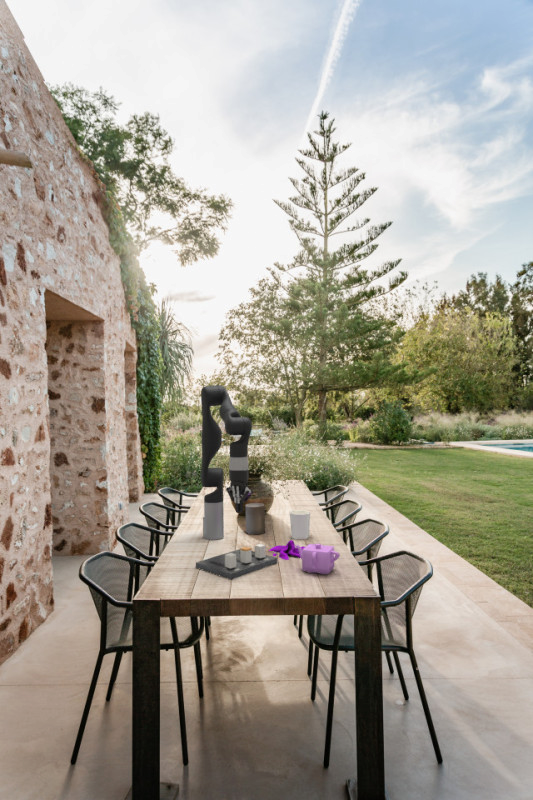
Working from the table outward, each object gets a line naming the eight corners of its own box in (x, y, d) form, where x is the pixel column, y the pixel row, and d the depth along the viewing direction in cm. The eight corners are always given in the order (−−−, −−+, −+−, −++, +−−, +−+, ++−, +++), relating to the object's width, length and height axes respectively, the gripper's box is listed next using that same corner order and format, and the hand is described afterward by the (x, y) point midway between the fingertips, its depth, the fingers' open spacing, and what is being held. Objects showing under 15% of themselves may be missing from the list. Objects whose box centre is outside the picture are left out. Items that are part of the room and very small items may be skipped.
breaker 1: (225, 566, 180) (224, 554, 180) (230, 564, 182) (230, 552, 182) (230, 568, 178) (230, 556, 178) (236, 566, 180) (236, 554, 180)
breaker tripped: (240, 561, 186) (240, 548, 186) (246, 559, 188) (245, 546, 188) (246, 563, 184) (245, 549, 184) (251, 561, 186) (251, 548, 186)
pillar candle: (268, 531, 242) (268, 501, 242) (259, 535, 233) (258, 504, 234) (251, 529, 246) (251, 499, 247) (242, 533, 238) (241, 503, 238)
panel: (195, 567, 187) (195, 562, 187) (242, 553, 205) (242, 548, 205) (231, 579, 173) (230, 573, 173) (277, 562, 192) (277, 557, 192)
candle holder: (300, 541, 222) (300, 515, 223) (285, 537, 230) (285, 512, 230) (314, 537, 229) (314, 512, 229) (300, 533, 236) (299, 509, 236)
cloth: (268, 548, 215) (267, 534, 215) (309, 547, 214) (309, 533, 215) (267, 564, 192) (267, 548, 193) (313, 563, 192) (313, 548, 192)
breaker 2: (254, 556, 192) (254, 545, 192) (260, 555, 194) (260, 543, 194) (260, 558, 190) (260, 546, 190) (265, 556, 192) (265, 545, 192)
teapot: (288, 573, 180) (288, 546, 180) (300, 562, 193) (299, 536, 193) (335, 579, 173) (335, 550, 173) (344, 567, 186) (344, 540, 186)
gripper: (220, 467, 191) (220, 511, 191) (243, 470, 182) (244, 516, 182) (234, 466, 196) (234, 508, 196) (257, 468, 187) (258, 513, 187)
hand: (239, 512), depth 189 cm, fingers closed
